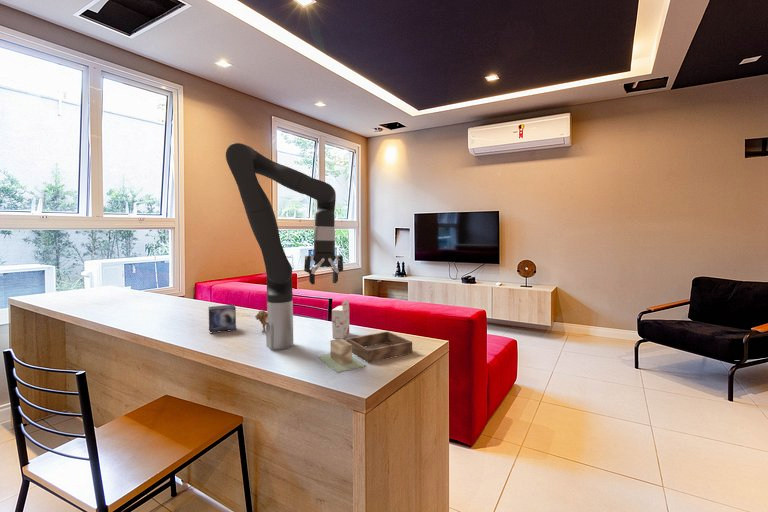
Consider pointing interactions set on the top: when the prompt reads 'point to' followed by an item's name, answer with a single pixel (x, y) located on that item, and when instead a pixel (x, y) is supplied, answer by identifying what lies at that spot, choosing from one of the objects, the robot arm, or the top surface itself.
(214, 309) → the small box
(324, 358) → the mat
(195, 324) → the top surface
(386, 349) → the slot box
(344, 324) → the ink cartridge box
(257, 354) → the top surface
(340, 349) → the maple block
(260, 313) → the lion figurine
